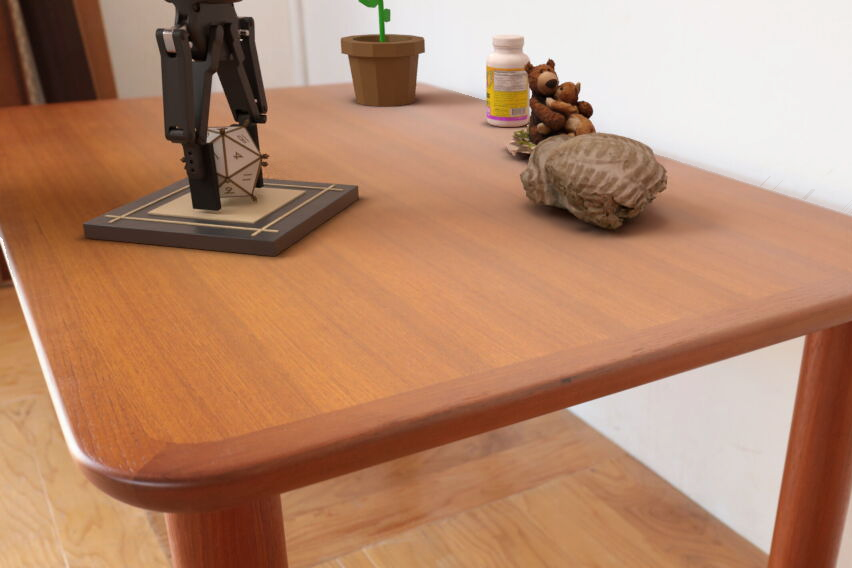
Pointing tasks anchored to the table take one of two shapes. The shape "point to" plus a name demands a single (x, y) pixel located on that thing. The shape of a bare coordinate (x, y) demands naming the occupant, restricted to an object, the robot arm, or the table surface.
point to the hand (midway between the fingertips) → (229, 196)
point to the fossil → (594, 177)
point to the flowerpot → (383, 63)
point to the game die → (235, 160)
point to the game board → (226, 217)
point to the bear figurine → (551, 110)
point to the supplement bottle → (507, 83)
